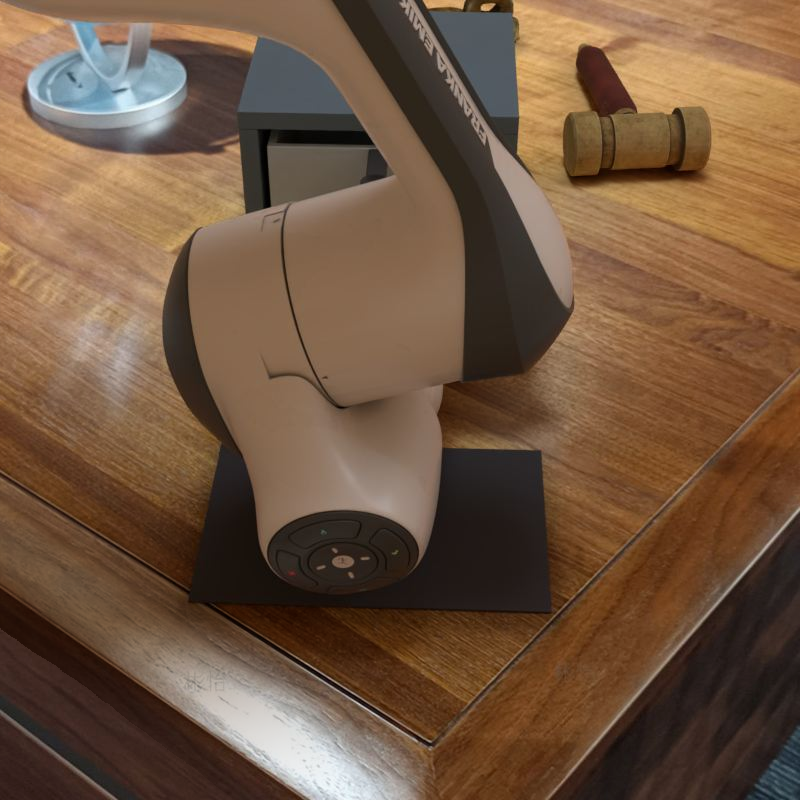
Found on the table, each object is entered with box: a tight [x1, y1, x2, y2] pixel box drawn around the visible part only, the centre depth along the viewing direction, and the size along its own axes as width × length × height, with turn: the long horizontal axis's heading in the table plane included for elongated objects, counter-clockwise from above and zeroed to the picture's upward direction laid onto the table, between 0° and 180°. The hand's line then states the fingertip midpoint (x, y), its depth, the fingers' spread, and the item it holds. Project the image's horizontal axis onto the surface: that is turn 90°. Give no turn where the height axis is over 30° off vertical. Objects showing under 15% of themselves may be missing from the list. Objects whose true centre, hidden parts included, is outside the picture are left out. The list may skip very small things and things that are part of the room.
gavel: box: [562, 42, 712, 177], centre depth 106 cm, size 21×5×10 cm
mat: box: [187, 442, 552, 614], centre depth 72 cm, size 18×12×1 cm, turn 88°
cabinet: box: [236, 11, 520, 214], centre depth 93 cm, size 17×16×11 cm
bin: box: [267, 129, 395, 207], centre depth 90 cm, size 14×17×9 cm
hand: (375, 215), depth 84 cm, fingers closed on bin
